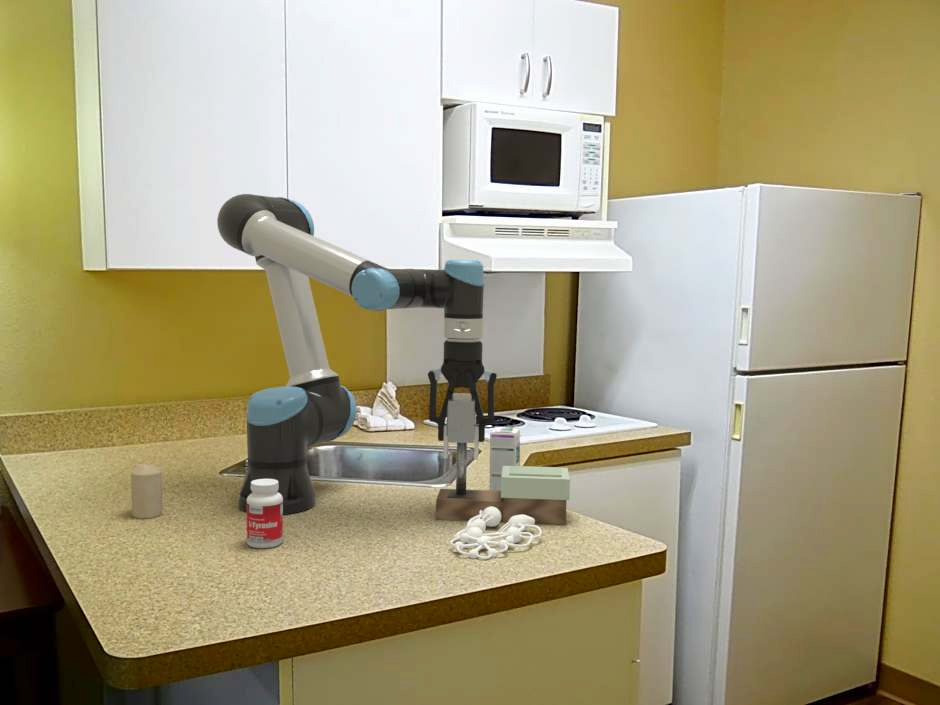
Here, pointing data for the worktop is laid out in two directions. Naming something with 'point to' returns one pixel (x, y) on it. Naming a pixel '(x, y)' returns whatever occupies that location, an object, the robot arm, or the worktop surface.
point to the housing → (497, 506)
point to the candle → (146, 491)
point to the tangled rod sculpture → (491, 519)
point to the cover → (535, 482)
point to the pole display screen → (461, 432)
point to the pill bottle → (264, 514)
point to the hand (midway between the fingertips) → (461, 457)
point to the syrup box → (503, 453)
